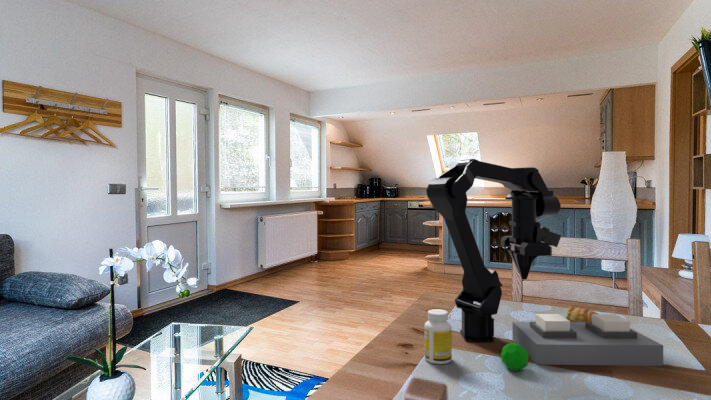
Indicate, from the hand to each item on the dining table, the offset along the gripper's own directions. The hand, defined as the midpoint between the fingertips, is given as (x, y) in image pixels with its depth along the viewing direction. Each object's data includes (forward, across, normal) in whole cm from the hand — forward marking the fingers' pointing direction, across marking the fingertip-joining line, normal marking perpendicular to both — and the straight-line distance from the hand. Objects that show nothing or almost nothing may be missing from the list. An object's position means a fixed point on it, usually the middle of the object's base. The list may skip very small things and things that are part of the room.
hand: (524, 279), depth 101 cm
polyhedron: (+12, -25, +11) cm, 30 cm away
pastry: (+12, +4, -17) cm, 21 cm away
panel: (+12, -16, -6) cm, 21 cm away
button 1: (+8, -16, 0) cm, 18 cm away
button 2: (+8, -16, -12) cm, 21 cm away
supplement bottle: (+12, -21, +25) cm, 35 cm away
